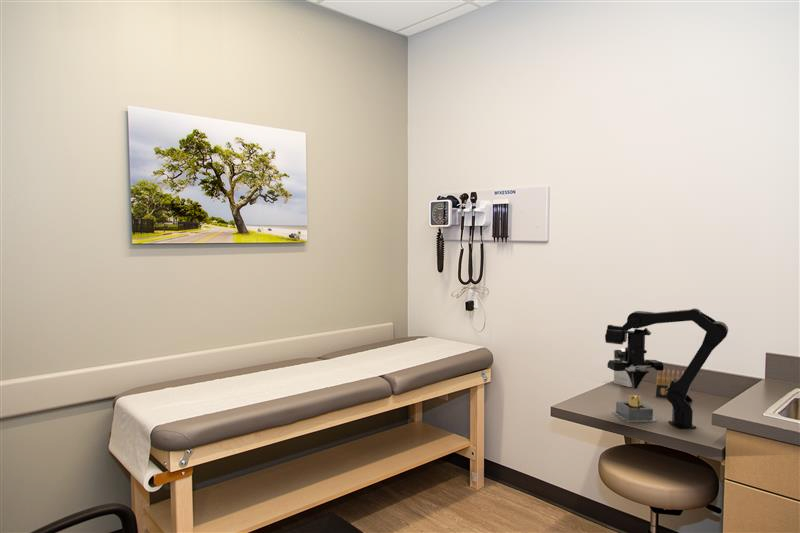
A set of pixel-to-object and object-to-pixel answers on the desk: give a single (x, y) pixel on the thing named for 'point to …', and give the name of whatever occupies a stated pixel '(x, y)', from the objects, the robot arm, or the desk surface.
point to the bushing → (634, 401)
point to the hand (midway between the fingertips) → (634, 388)
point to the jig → (634, 413)
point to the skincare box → (621, 375)
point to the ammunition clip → (664, 382)
